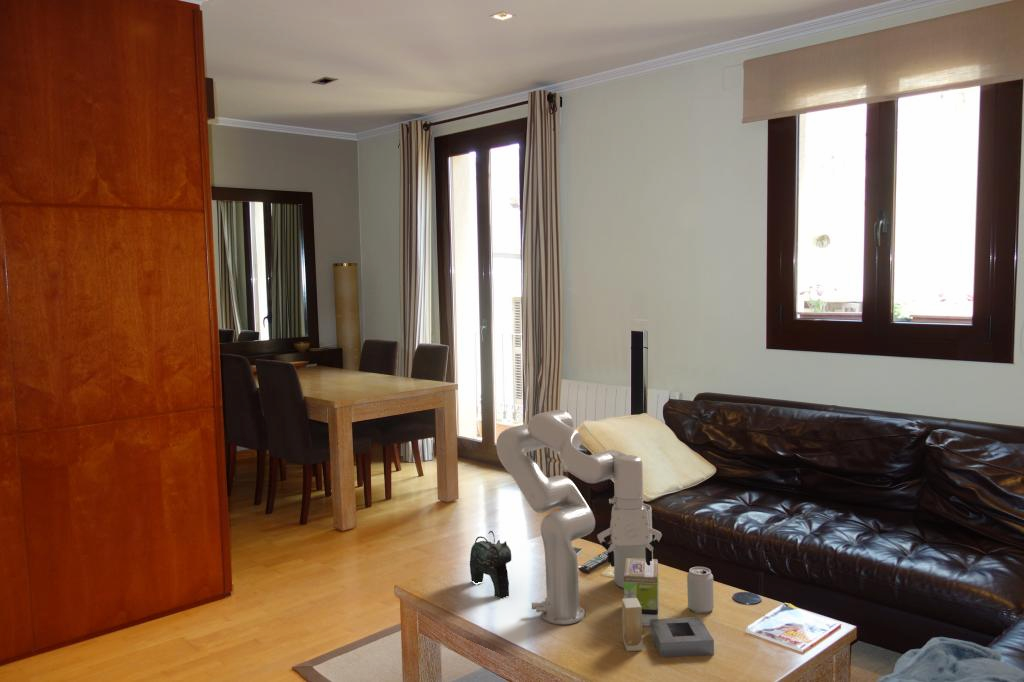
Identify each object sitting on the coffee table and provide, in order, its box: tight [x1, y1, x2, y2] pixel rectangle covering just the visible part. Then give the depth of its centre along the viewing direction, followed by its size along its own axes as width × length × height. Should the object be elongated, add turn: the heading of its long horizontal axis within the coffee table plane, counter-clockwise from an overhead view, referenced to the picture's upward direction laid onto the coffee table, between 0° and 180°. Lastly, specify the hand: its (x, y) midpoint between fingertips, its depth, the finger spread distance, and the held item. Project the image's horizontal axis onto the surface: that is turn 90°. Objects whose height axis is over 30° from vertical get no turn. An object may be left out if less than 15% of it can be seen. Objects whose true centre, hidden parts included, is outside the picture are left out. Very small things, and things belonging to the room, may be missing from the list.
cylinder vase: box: [613, 502, 654, 589], centre depth 254 cm, size 12×12×25 cm
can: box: [686, 566, 715, 614], centre depth 233 cm, size 8×8×12 cm
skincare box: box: [621, 598, 643, 652], centre depth 211 cm, size 6×4×12 cm
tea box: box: [623, 558, 660, 627], centre depth 230 cm, size 15×10×15 cm, turn 170°
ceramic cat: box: [469, 530, 512, 599], centre depth 253 cm, size 20×6×20 cm, turn 34°
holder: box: [649, 616, 715, 658], centre depth 212 cm, size 14×14×4 cm
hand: (630, 564), depth 211 cm, fingers open, 9 cm apart
